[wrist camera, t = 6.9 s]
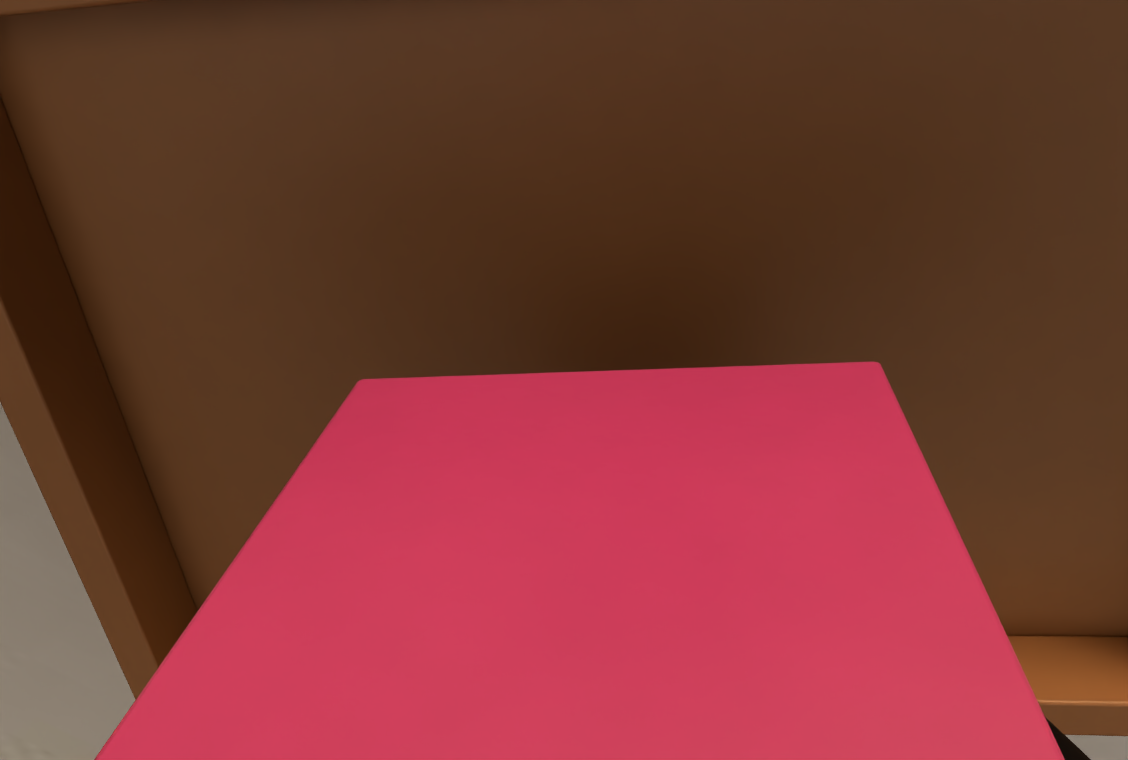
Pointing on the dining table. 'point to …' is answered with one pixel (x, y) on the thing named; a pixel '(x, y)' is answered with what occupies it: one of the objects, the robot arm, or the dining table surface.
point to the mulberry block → (601, 584)
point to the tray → (568, 255)
